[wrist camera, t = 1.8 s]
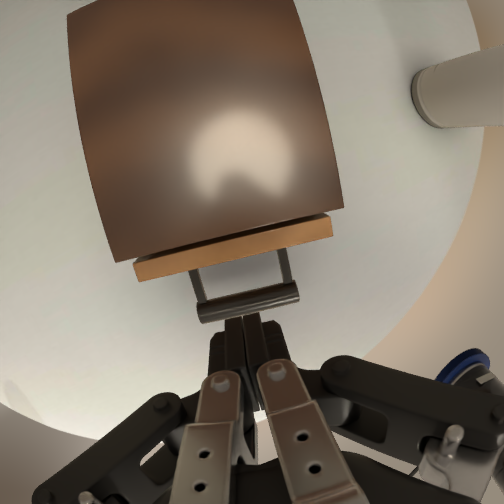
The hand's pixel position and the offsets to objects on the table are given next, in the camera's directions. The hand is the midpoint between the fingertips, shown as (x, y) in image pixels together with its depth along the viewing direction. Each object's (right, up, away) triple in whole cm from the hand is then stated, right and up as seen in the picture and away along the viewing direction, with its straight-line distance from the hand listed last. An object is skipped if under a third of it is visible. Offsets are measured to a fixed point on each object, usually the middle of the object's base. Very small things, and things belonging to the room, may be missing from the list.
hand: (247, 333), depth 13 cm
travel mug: (+18, +19, +10) cm, 28 cm away
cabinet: (-4, +15, +10) cm, 18 cm away
